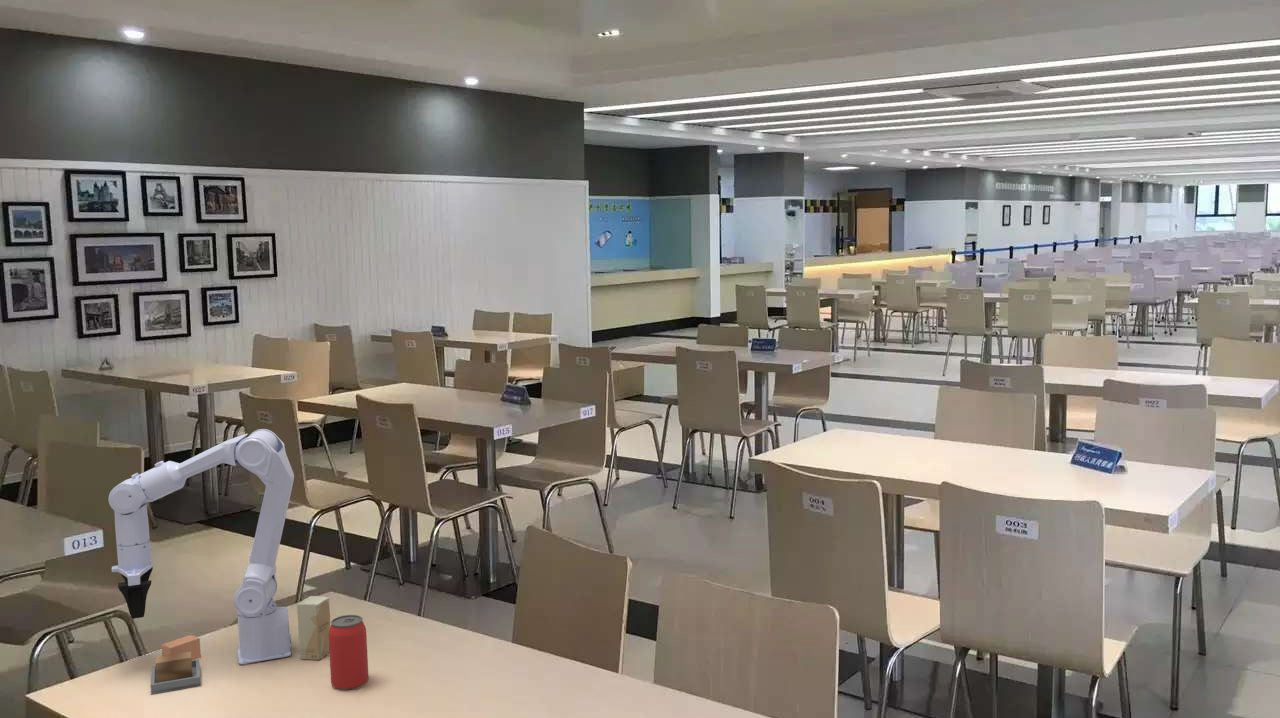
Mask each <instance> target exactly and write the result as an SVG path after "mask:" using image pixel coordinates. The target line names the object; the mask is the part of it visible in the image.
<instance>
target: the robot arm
mask: <svg viewBox="0 0 1280 718" xmlns="http://www.w3.org/2000/svg"><path fill="white" fill-rule="evenodd" d="M247 436H248V437H247ZM285 446H286V445H285V443H284V442H283V441H282V439H280V438H279V437H278V435H277V434H276V433H275V432H273V431H272V430H270V429H266V428H260V429H256V430H254V431H252V432H251V433H250V434H248V433H245V434H240V435H239V436H235V437H233V438H231V439H230V438H229V439H227V440H225V441H222V442H220V443H219V444H217V445H215V446H213V447H211V448H209V449H207V450H203V451H202V452H200V453H198V454H197V455H194V456H192V457H191V458H188V459H186V460H184V461H183V462H182V461H181V462H180V463H179V462H176V461H173V460H168V461H166V462H164V460H161V461H158V462H156V463H155V464H154V467H152V468H150V469H147V470H146V471H144V472H142V473H139V472H136V473H134V474H132V475H130V476H131V478H127V479H125V480H123V481H122V482H120V483H119V484H117V485H116V486H114V487H113V488H112V489H111V490H110V492H109V494H108V504H109V506H110V508H111V510H113V513H114V526H115V527H114V528H115V540H116V541H115V542H116V553H117V554H116V556H117V565H112V566H111V572H112V573H119V574H120V575H121V577H122V578H123V579H124V581H123V582H118V583H117V588H118V590H119V592H120V593H121V594H122V595H123V598H124V600H125V602H126V605H127V609H128V612H129V613H128V614H129V616H130V618H131V619H139V618H140V619H141V618H145V614H146V613H145V612H146V605H147V604H146V603H147V596H148V592H149V590H150V587H151V586H152V582H153V581H152V580H151V579H150V576H151V574H152V571H153V567H154V565H153V564H154V563H153V561H152V551H151V540H150V537H151V536H150V527H149V515H148V505H147V504H148V503H153V502H154V501H157V500H159V499H162V498H163V497H165V496H167V495H169V494H172V493H174V492H176V491H179V490H181V489H182V488H184V486H185V484H186V481H187V479H188V478H190V477H193V476H195V475H197V474H200V473H202V472H205V471H208V470H210V469H211V468H214V467H217V466H218V465H221V464H227V465H231V466H235V467H236V466H237V465H238V464H239V465H240V466H242V467H243V468H244V469H246V470H248V471H249V472H251V473H252V474H254V475H256V477H258V478H259V479H260V481H261V482H262V483H263V484H264V486H265V488H264V489H265V490H264V494H263V499H262V501H261V508H260V511H259V515H258V520H257V525H256V529H255V535H254V537H253V538H254V539H253V542H252V543H253V544H252V548H251V552H250V556H249V563H248V564H247V565H248V566H247V568H246V570H245V573H244V575H243V580H242V584H241V586H239V588H238V589H237V590H236V592H235V593H234V596H233V606H234V607H235V609H236V611H237V626H238V641H239V642H238V643H239V648H237V658H238V664H239V665H246V664H251V663H252V664H253V663H257V662H262V661H263V662H264V661H269V660H275V659H281V658H286V657H287V658H288V657H291V656H292V652H291V644H292V637H291V636H292V635H291V633H290V620H289V611H288V607H287V606H277V603H276V601H275V599H273V597H274V596H275V594H276V593H277V589H278V582H277V581H278V580H277V577H276V572H277V565H276V562H277V558H278V553H279V548H280V544H281V540H282V536H283V530H284V527H285V521H286V517H287V512H288V508H289V505H290V499H291V494H292V490H293V485H294V482H295V481H294V480H295V473H294V471H293V468H292V465H291V463H290V461H289V458H288V456H287V452H286V447H285Z"/></svg>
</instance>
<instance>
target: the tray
mask: <svg viewBox="0 0 1280 718" xmlns="http://www.w3.org/2000/svg"><path fill="white" fill-rule="evenodd" d="M200 662H201V661H200V658H198V659H195V660H192V676H193V677H189V678H183V679H178V680H172V681H166V682H160V683H157V680H156V667H155V666H151V671H150V672H151V673H150V676H151V677H150V692H151V693H150V695H157V694H161V693H162V694H163V693H167V692H173V691H178V690H180V691H181V690H184V689H189V688H196V687H201V665H200V664H201V663H200Z"/></svg>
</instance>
